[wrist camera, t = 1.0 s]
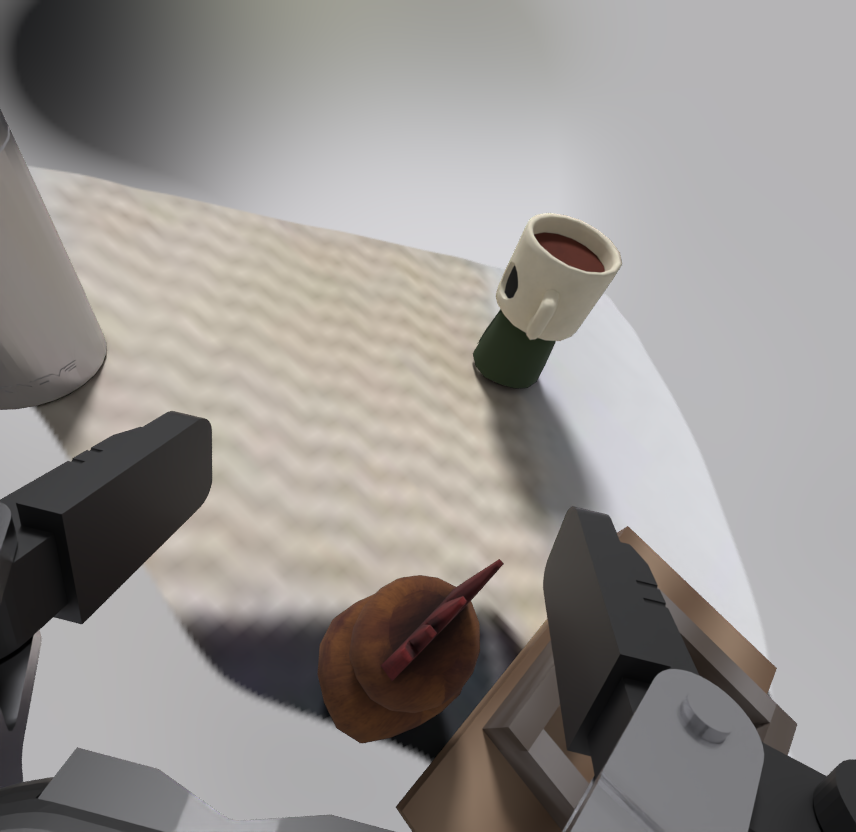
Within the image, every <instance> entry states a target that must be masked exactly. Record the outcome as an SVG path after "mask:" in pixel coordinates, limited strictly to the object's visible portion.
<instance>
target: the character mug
mask: <svg viewBox="0 0 856 832" xmlns="http://www.w3.org/2000/svg"><path fill="white" fill-rule="evenodd" d="M621 265H622V260H621V255H620V252H619V251H618V250H617V248H616V247H615V246H614V244H613V243H612V241H610V239H608V238H607V237H606V236H605V235H604V234H602V233H601V232H600V231H599V230H597V229H596V228H594V227H592V226H590V225H588V224H586V223H585V222H583V221H581V220H578V219H575V218H572V217H569V216H566V215H559V214H552V213H546V214H539V215H536V216H534V217H532V218H531V219H530V220H529V221H528V223H527V225H526V227H525V229H524V231H523V233H522V235H521V238H520V240H519V242H518V244H517V246H516V249H515V251H514V253H513V255H512V257H511V259H510V261H509V263H508V265H507V267H506V269H505V272H504V274H503V276H502V279H501V281H500V283H499V285H498V289H497V293H496V299H497V303H498V305H499V307H500V311H499V312H498V314H497V315H496V316H495V318H494V319H493V320H492V322H491V323H490V325H489V326H488V327H487V329H486V330H485V332H484V334H483V335H482V337H481V339H480V340H479V342H478V343H479V344H478V343H477V344H478V346H477V347H476V349H475V351H474V353H473V357H474V361H475V365H476V367H477V368H478V369H479V371H480V372H481V373H482V374H483V376H484V377H486V378H488V379H490V380H492V381H494V382H496V383H498V384H501V385H505V386H508V387H512V388H528V387H529V386H531V385H532V384H534V383H535V382H536V381H537V379H538V378H539V376H540V374H541V372H542V370H543V368H544V366H545V364H546V362H547V360H548V357H549V355H550V353H551V351H552V349H553V346H554V344H555V341H561V340H564V339H566V338H569V337H571V336H572V335H573V334H574V333H576V331H577V330H578V329H579V327H580V326H581V324H582V323H583V321H584V320H585V319H586V317H587V316H588V314H589V313H590V311H591V310H592V309H593V307H594V306H595V304H596V303H597V301H598V300H599V299H600V297H601V296H602V294H603V293H604V291H605V290H606V288H607V287H608V286H609V284H610V283H611V281H612V280H613V278H614V277H615V275H616V274H617V272H618V270H619V269H620V267H621Z"/></svg>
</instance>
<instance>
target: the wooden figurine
mask: <svg viewBox="0 0 856 832" xmlns="http://www.w3.org/2000/svg"><path fill="white" fill-rule="evenodd" d="M503 564H504V563H503V562H502V561H501V560H500V559H499V560H497V561H496V562H494V563H493V564H491V565H490V566H488V567H487V568H485V569H483V570H482V571H480V572H479V573H477V574H476V575H474V576H473V577H471V578H470V579H468V580H466V581H465V582H463V583H462V584H460V585H459V586H457V587H455V586H453V585H451V584H449V583H447V582H445V581H443V580H441V579H439V578H435V577H428V576H422V575H418V576H411V577H403V578H399V579H396V580H395V581H393V582H391V583H389V584H388V585H386V586H384V587H382V588H381V589H380V590H379V591H378V592H377V593H376V594H373V595H371V596H369V597H367V598H365V599H362V600H360V601H358V602H356V603H355V604H353V605H352V606H350V607H349V608H348V609H346V610H345V611H343V612H342V613H341V614H339V615H338V616H336V617H335V618H334V619H333V620H332V622H331V624H330V626H329V628H328V630H327V632H326V634H325V636H324V638H323V640H322V642H321V644H320V650H319V663H318V678H319V682H320V686H321V691H322V695H323V699H324V703H325V705H326V707H327V709H328V711H329V713H330V716H331V718H332V720H333V722H334V724H335V726H336V728H337V729H339V730H340V731H342V732H343V733H345V734H347V735H348V736H350V737H351V738H353V739H355V740H356V741H358V742H359V743H367V742H372V741H377V740H382V739H387V738H391V737H393V736H396V735H398V734H400V733H403V732H405V731H408V730H410V729H412V728H415V727H417V726H419V725H421V724H423V723H424V722H426V721H428V720H429V719H431V718H432V717H434V716H436V715H437V714H439V713H441V712H442V711H443V710H444V709H445V708H446V707H447V706H448V705H449V704H450V703H451V702H452V701H453V700H454V699H455V698H457V697H458V696H459V695H460V693H461V690H462V687H463V686H464V685H465V683H466V682H467V680H468V679H469V678H470V676H471V675H472V674H473V671H474V668H475V664H476V661H477V658H478V655H479V652H480V632H479V621H478V619H477V616H476V613H475V610H474V608H473V605H472V602H471V600H472V599H473V598H474V597H475V596H476V594H477V593H478V592H479V591H480V590H481V589H482V588H483V587H484V585H485V584H486V583H487V582H488V581H489V580H490V579H491V578H492V576H493V575H494V574H495V573H496V572H497V571H498V570H499V569H500V567H501V566H502V565H503Z"/></svg>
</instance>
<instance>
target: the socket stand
mask: <svg viewBox="0 0 856 832" xmlns="http://www.w3.org/2000/svg"><path fill="white" fill-rule="evenodd" d="M617 535H618V537H619V540H620V542H622V543H627V544H630V545H631V546H632V547H633V548H634V549H635V550H636V552H637V553H638V554H639V555H640V556H641V557H642V558H643V559H644V560H645V561H646V563H647V564H648V565H649V567H650V569H651V572H652V574H653V576H654V578H655V580H656V582H657V585H658V586H657V589H659V590H660V591H661V593H662V595H663V598H664V600H665V602H666V607H667V608H669V611H670V613H671V615H672V617H673V619H674V621H675V624H676V626H677V628H678V630H679V632H680V634H681V637H682V639H683V641H684V643H685V645H686V647H687V650H688V652H689V654H690V656H691V658H692V660H693V663H694V665H695V667H696V669H697V671H698V673H699V676H701V677H703V678H705V679H707V680H708V681H710V682H711V683H713V684H715V685H716V686H718V687H719V688H720V689H721V690H723V691H724V692H725V693H726V694H728V695H729V696H730V697H731V698H732V699H733V700H734V701H735V702H736V703H737V704H738V705H739V706H740V707H741V708H742V710H743V711H744V712H745V713H746V715H747V716H748V717H749V719H750V720H751V722H752V723H753V725H754V726H755V728H756V730H757V732H758V734H759V736H760V739H761V741H762V742H763V743H765V744H767V745H769V746H770V747H772V748H774V749H776V750H778V751H780V752H782V753H784V754H785V755H787V756H788V752H789V749H790V746H791V743H792V740H793V736H794V733H795V730H796V726H797V723H796V722H795V721H794V720H793V719H792V718H791V717H790V716H788V715H787V714H786V713H785V712H784V711H783V710H782V709H781V708H780V707H779V706H778V705H777V704H776V703H775V702H774V701H773V700H772V699H771V698H770V697H769V696H768V695H767V693H768V690H769V688H770V685H771V682H772V680H773V677H774V674H775V672H776V669H777V668H776V667H775V666H774V665H773V664H772V663H771V662H770V661H769V660H767V659H766V658H765V657H764V656H763V655H762V654H761V653H760V652H759V651H758V650H757V649H756V648H755V647H754V646H753V645H752V644H751V643H750V642H749V641H748V640H747V639H746V638H744V637H743V636H742V635H741V634H740V633H739V632H738V631H737V630H736V629H735V628H734V627H733V626H732V625H731V624H730V623H729V622H728V621H727V620H726V619H725V618H724V617H722V616H721V615H720V614H719V613H718V612H717V611H716V610H715V609H714V608H713V607H712V606H711V605H710V604H709V603H708V602H707V601H706V600H705V599H704V598H703V597H702V596H701V595H699V594H698V593H697V592H696V591H695V590H694V589H693V588H692V587H691V586H690V585H689V584H688V583H687V582H686V581H685V580H684V579H683V578H682V577H681V576H680V575H679V574H677V573H676V572H675V571H674V570H673V569H672V568H671V567H670V566H669V565H668V564H667V563H666V562H665V561H664V560H663V559H662V558H661V557H660V556H659V555H658V554H657V553H656V552H654V551H653V550H652V549H651V548H650V547H649V546H648V545H647V544H646V543H645V542H644V541H643V540H642V539H641V538H640V537H639V536H638V535H637V534H636V533H635V532H634V531H632V530H631V529H630V528H629V527H628V526H627V527H626V528H624V529H622V530H621V531H619V532H618V533H617ZM593 777H594V770H593V764H592V759H591V756H587V755H583V754H579V753H575V752H571V751H567V747H566V740H565V734H564V727H563V720H562V713H561V706H560V700H559V693H558V686H557V679H556V672H555V665H554V659H553V652H552V645H551V638H550V631H549V625H548V619H547V620H546V621H545V622H544V624H543V625H542V626H541V627H540V629H539V630H538V631H537V632H536V633H535V635H534V636H533V637H532V638H531V640H530V641H529V642H528V643H527V645H526V646H525V647H524V648H523V650H522V651H521V652H520V653H519V655H518V656H517V657H516V658H515V660H514V661H513V662H512V663H511V664H510V666H509V667H508V668H507V669H506V671H505V672H504V673H503V674H502V676H501V677H500V678H499V679H498V681H497V682H496V683H495V684H494V686H493V687H492V688H491V689H490V691H489V692H488V693H487V694H486V696H485V697H484V698H483V699H482V700H481V702H480V703H479V704H478V705H477V707H476V708H475V709H474V710H473V712H472V713H471V714H470V715H469V717H468V718H467V719H466V720H465V722H464V723H463V724H462V725H461V727H460V728H459V729H458V730H457V732H456V733H455V734H454V735H453V736H452V738H451V739H450V740H449V741H448V743H447V744H446V745H445V746H444V748H443V749H442V750H441V751H440V753H439V754H438V755H437V756H436V758H435V759H434V760H433V761H432V763H431V764H430V765H429V766H428V768H427V769H426V770H425V771H424V772H423V774H422V775H421V776H420V777H419V779H418V780H417V781H416V782H415V784H414V785H413V786H412V787H411V789H410V790H409V791H408V792H407V794H406V795H405V796H404V797H403V799H402V800H401V801H400V802H399V804H398V805H397V806H396V808H397V810H398V811H399V813H400V814H401V816H402V817H403V819H404V820H405V821H406V823H407V824H408V826H409V827H410V829H411V830H412V832H562V830H563V828H564V826H565V825H566V823H567V821H568V819H569V818H570V816H571V814H572V812H573V811H574V809H575V807H576V805H577V804H578V802H579V800H580V798H581V797H582V795H583V793H584V792H585V790H586V788H587V786H588V785H589V783H590V781H591V780H592V778H593Z"/></svg>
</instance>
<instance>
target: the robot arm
mask: <svg viewBox="0 0 856 832" xmlns="http://www.w3.org/2000/svg"><path fill="white" fill-rule="evenodd" d="M105 355H106V340H105V337H104V334H103V332H102V330H101V327H100V325H99V323H98V321H97V319H96V316H95V314H94V312H93V310H92V308H91V305H90V303H89V301H88V299H87V296H86V294H85V291H84V289H83V287H82V285H81V283H80V281H79V278H78V276H77V274H76V272H75V270H74V267H73V265H72V263H71V261H70V259H69V256H68V254H67V252H66V250H65V248H64V246H63V243H62V241H61V239H60V237H59V235H58V232H57V230H56V228H55V226H54V224H53V221H52V219H51V217H50V215H49V213H48V211H47V208H46V206H45V204H44V202H43V200H42V197H41V195H40V193H39V191H38V189H37V186H36V184H35V182H34V180H33V178H32V176H31V173H30V171H29V169H28V167H27V165H26V162H25V160H24V158H23V156H22V154H21V152H20V149H19V147H18V145H17V143H16V141H15V138H14V136H13V134H12V132H11V130H10V128H9V125H8V124H7V122H6V120H5V117H4V115H3V113H2V111H1V109H0V410H7V409H20V408H26V407H32V406H37V405H40V404H44V403H47V402H50V401H54V400H56V399H58V398H60V397H63V396H65V395H67V394H69V393H71V392H73V391H74V390H76V389H77V388H79V387H80V386H82V385H84V384H85V383H86V382H87V381H88V380H89V379H90V378H91V377H92V376H94V375H95V373H96V372H97V371H98V369H99V368H100V366H101V365H102V363H103V361H104V358H105ZM211 484H212V428H211V424H210V422H209V421H208V420H207V419H205V418H200V417H196V416H192V415H188V414H183V413H179V412H175V411H170V412H167V413H165V414H164V415H162V416H160V417H159V418H157V419H155V420H154V421H152V422H150V423H149V424H147V425H145V426H144V427H138V428H135V429H132V430H128V431H125V432H122V433H118V434H115V435H112V436H111V437H109V438H107V439H105V440H104V441H102V442H100V443H98V444H97V445H95V446H93V447H91V450H90V451H88V450H86V451H84V452H83V453H81V454H79V455H77V456H76V457H74V458H73V460H72V461H71V462H70V461H67V462H65V463H64V464H62V465H60V466H58V467H57V468H55V469H53V470H51V471H50V472H48V473H46V474H44V475H43V476H41V477H39V478H37V479H36V480H34V481H32V482H30V483H29V484H27V485H25V486H24V487H22V488H20V489H18V490H16V491H15V492H13V493H11V494H9V495H8V496H6V497H4V498H2V499H1V500H0V832H394V831H390V830H387V829H383V828H379V827H375V826H371V825H368V824H364V823H360V822H356V821H353V820H349V819H345V818H341V817H338V816H334V815H319V816H305V817H288V818H273V819H258V820H233V819H229V818H227V817H226V816H224V815H222V814H221V813H220V812H218V811H217V810H215V809H214V808H213V807H211V806H210V805H208V804H207V803H205V802H204V801H202V800H201V799H200V798H198V797H197V796H196V795H194V794H193V793H191V792H190V791H189V790H187V789H186V788H184V787H183V786H182V785H180V784H179V783H177V782H176V781H174V780H173V779H172V778H170V777H169V776H168V775H166V774H165V773H163V772H162V771H161V770H159V769H156V768H152V767H149V766H145V765H141V764H137V763H133V762H130V761H126V760H122V759H118V758H115V757H111V756H107V755H103V754H99V753H96V752H92V751H88V750H85V749H81V748H76V750H75V751H74V752H73V754H72V755H71V756H70V757H69V759H68V760H67V761H66V762H65V764H64V765H63V766H62V767H61V769H60V770H59V771H58V773H57V774H56V775H55V777H51V778H44V779H39V780H33V781H27V782H23V773H22V749H23V741H24V734H25V730H26V724H27V719H28V713H29V708H30V702H31V696H32V691H33V686H34V680H35V675H36V669H37V664H38V658H39V653H40V647H41V634H40V631H39V630H40V628H42V627H43V626H44V625H45V624H46V623H47V622H48V621H49V620H51V619H52V618H53V617H55V618H59V619H63V620H67V621H71V622H75V623H79V624H83V623H84V622H85V621H86V620H87V619H88V618H89V617H90V616H91V615H92V614H93V613H94V612H95V611H96V610H97V609H98V608H99V607H100V606H101V605H102V604H103V603H104V602H105V601H106V600H107V599H108V598H109V597H110V596H111V595H112V594H113V593H114V592H115V591H116V590H117V589H118V588H119V587H120V586H121V585H122V584H123V583H124V582H125V581H126V580H127V579H128V578H129V577H130V576H131V575H132V574H133V573H134V572H135V571H136V570H137V569H138V568H139V567H140V566H141V565H142V564H143V563H144V562H145V561H146V560H147V559H148V558H149V557H150V556H151V555H152V554H153V553H154V552H155V551H156V550H158V549H159V548H160V547H161V546H162V545H163V544H164V543H165V542H166V541H167V540H168V539H169V538H170V537H171V536H172V535H173V534H174V533H175V532H176V531H177V530H178V529H179V528H180V527H181V526H182V525H183V524H184V523H185V522H186V521H187V520H188V519H189V518H190V517H191V516H192V515H193V514H194V513H195V512H196V511H197V510H198V509H199V508H200V507H201V506H202V504H203V503H204V502H205V500H206V498H207V496H208V494H209V491H210V488H211ZM657 586H658V585H657V582H656V580H655V578H654V576H653V574H652V572H651V569H650V567H649V565H648V564H647V563H646V561H645V560H644V559H643V558H642V557H641V556H640V555H639V554H638V553H637V552H636V550H635V549H634V548H633V547H632V546H631V545H630V544H627V543H622V542H620V540H619V537H618V535H617V533H616V530H615V528H614V525H613V523H612V520H611V518H610V517H609V515H607V514H603V513H599V512H594V511H590V510H586V509H582V508H577V507H571V508H570V509H569V510H568V511H567V513H566V515H565V518H564V520H563V523H562V525H561V528H560V530H559V533H558V535H557V538H556V540H555V543H554V545H553V548H552V550H551V553H550V555H549V558H548V560H547V563H546V567H545V572H544V580H543V590H544V597H545V604H546V611H547V618H548V625H549V631H550V638H551V645H552V652H553V659H554V665H555V672H556V679H557V686H558V693H559V700H560V706H561V713H562V720H563V727H564V734H565V740H566V747H567V751H571V752H575V753H579V754H583V755H587V756H591V759H592V764H593V770H594V777H593V778H592V780H591V781H590V783H589V785H588V786H587V788H586V790H585V792H584V793H583V795H582V797H581V798H580V800H579V802H578V804H577V805H576V807H575V809H574V811H573V812H572V814H571V816H570V818H569V819H568V821H567V823H566V825H565V826H564V828H563V830H562V832H856V760H846V761H843V762H842V763H840V764H839V765H838V766H837V767H836V768H835V769H834V770H833V771H832V772H831V773H830V774H829V775H828V776H825V775H823V774H821V773H819V772H817V771H816V770H814V769H812V768H810V767H808V766H806V765H804V764H802V763H800V762H799V761H797V760H795V759H793V758H791V757H789V756H787V755H785V754H784V753H782V752H780V751H778V750H776V749H774V748H772V747H770V746H769V745H767V744H765V743H763V742H762V741H761V739H760V736H759V734H758V732H757V730H756V728H755V726H754V725H753V723H752V722H751V720H750V719H749V717H748V716H747V715H746V713H745V712H744V711H743V710H742V708H741V707H740V706H739V705H738V704H737V703H736V702H735V701H734V700H733V699H732V698H731V697H730V696H729V695H728V694H726V693H725V692H724V691H723V690H721V689H720V688H719V687H718V686H716V685H715V684H713V683H711V682H710V681H708V680H707V679H705V678H703V677H701V676H699V673H698V671H697V669H696V667H695V665H694V663H693V660H692V658H691V656H690V654H689V652H688V650H687V647H686V645H685V643H684V641H683V639H682V637H681V634H680V632H679V630H678V628H677V626H676V624H675V621H674V619H673V617H672V615H671V613H670V611H669V608H667V607H666V602H665V600H664V598H663V595H662V593H661V591H660V590H659V589H657Z"/></svg>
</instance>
